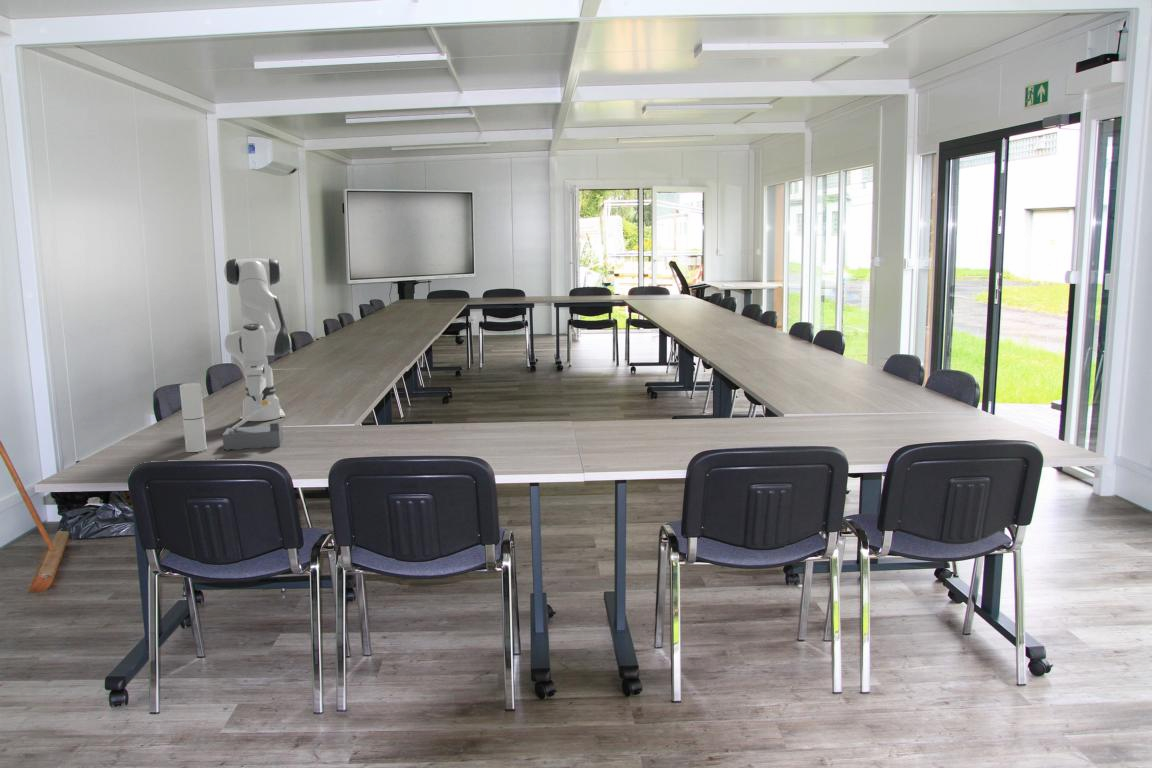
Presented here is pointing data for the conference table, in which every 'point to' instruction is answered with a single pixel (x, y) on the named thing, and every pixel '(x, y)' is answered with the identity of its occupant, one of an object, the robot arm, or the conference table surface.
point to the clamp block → (253, 437)
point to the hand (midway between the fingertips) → (259, 403)
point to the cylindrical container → (193, 417)
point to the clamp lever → (265, 405)
